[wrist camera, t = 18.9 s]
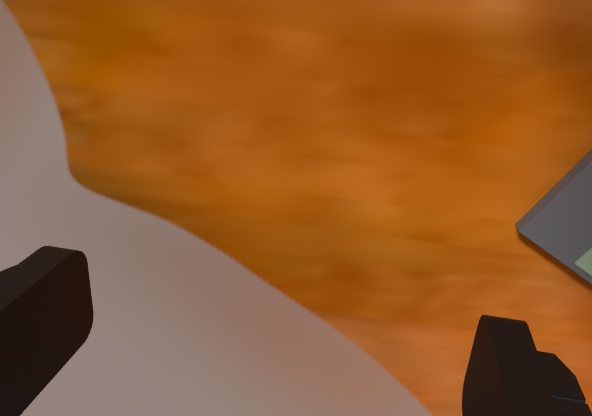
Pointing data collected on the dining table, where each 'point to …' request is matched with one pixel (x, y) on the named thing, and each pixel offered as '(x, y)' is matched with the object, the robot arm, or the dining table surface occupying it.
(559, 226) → the picture board
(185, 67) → the dining table surface
